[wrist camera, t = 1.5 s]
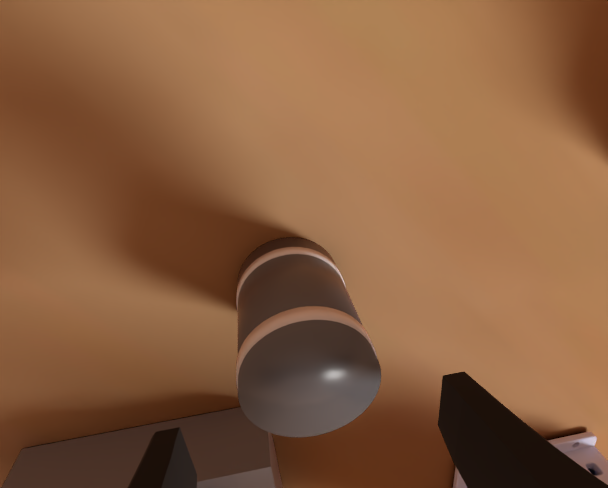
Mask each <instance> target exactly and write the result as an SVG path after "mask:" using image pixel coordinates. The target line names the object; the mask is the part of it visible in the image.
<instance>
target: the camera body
mask: <svg viewBox="0 0 608 488" xmlns="http://www.w3.org/2000/svg"><path fill="white" fill-rule="evenodd" d="M177 427H180V429H181V432H182V435H183V438H184V440H185V443H186V446H187V448H188V451H189V454H190V457H191V459H192V462H193V465H194V468H195V470H196V473H197V488H283V486H282V481H281V476H280V471H279V466H278V461H277V456H276V451H275V446H274V441H273V437H272V433H269V432H267V431H265V430H263V429H261V428H259V427H258V426H256V425H255V424H253V423H252V422H251V421H250V420H249V419H248V418H247V417H246V415H245V414H244V412H243V410H242V409H241V407H239V408H234V409H228V410H223V411H218V412H213V413H208V414H202V415H197V416H192V417H187V418H181V419H176V420H171V421H166V422H160V423H155V424H150V425H145V426H140V427H134V428H129V429H124V430H119V431H113V432H108V433H103V434H98V435H92V436H87V437H82V438H77V439H72V440H66V441H61V442H56V443H51V444H45V445H40V446H35V447H30V448H25V449H22V450H21V452H20V453H19V455H18V457H17V459H16V461H15V463H14V465H13V467H12V469H11V470H10V472H9V474H8V476H7V478H6V480H5V482H4V484H3V485H2V487H1V488H128V486H129V484H130V482H131V480H132V478H133V476H134V474H135V472H136V470H137V468H138V466H139V464H140V461H141V459H142V457H143V455H144V453H145V451H146V449H147V447H148V445H149V442H150V440H151V438H152V436H153V435H154V433H155V432H157V431H162V430H167V429H172V428H177Z"/></svg>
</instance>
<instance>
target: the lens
mask: <svg viewBox="0 0 608 488" xmlns="http://www.w3.org/2000/svg"><path fill="white" fill-rule="evenodd" d="M236 305H237V312H238V357H237V364H236V384H237V390H238V398H239V403H240V406H241V409H242V410H243V412H244V414H245V415H246V417H247V418H248V419H249V420H250V421H251V422H252V423H253V424H255V425H256V426H258V427H259V428H261V429H263V430H265V431H267V432H269V433H272V434H275V435H280V436H286V437H310V436H316V435H321V434H325V433H328V432H331V431H334V430H336V429H338V428H341V427H343V426H344V425H346V424H348V423H350V422H351V421H353V420H354V419H356V418H357V417H358V416H359V415H361V414H362V413H363V412H364V411H365V410H366V409H367V408H368V406H369V405H370V404H371V403H372V401H373V399H374V398H375V396H376V394H377V392H378V389H379V386H380V382H381V369H380V365H379V362H378V359H377V355H376V351H375V349H374V346H373V344H372V342H371V340H370V338H369V335H368V333H367V331H366V330H365V329H364V327H363V326H362V323H361V321H360V319H359V317H358V314H357V312H356V310H355V308H354V305H353V303H352V301H351V299H350V296H349V294H348V292H347V290H346V286H345V283H344V280H343V278H342V275H341V273H340V271H339V269H338V268H337V266H336V265H335V263H334V261H333V259H332V257H331V256H330V254H329V253H328V252H327V251H326V250H325V249H324V248H322V247H321V246H320V245H318V244H316V243H314V242H312V241H310V240H306V239H302V238H291V237H289V238H281V239H276V240H273V241H270V242H268V243H265V244H263V245H262V246H260V247H259V248H257V249H256V250H255V251H253V252H252V253H251V254H250V255H249V256H248V257H247V259H246V260H245V262H244V263H243V265H242V267H241V269H240V272H239V276H238V287H237V297H236Z"/></svg>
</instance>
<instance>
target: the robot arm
mask: <svg viewBox="0 0 608 488" xmlns="http://www.w3.org/2000/svg"><path fill="white" fill-rule="evenodd" d="M438 426H439V429H440V431H441V433H442V436H443V438H444V441H445V443H446V446H447V448H448V450H449V453H450V455H451V457H452V460H453V462H454V464H455V466H456V469H455V476H454V483H453V488H608V461H607V460H606V459H605V457H604V456H603V455H602V454H601V453H600V452H599V451H598V450H597V448H596V447H595V446H594V445H595V443H596V440H597V438H596V436H595V435H594V434H593V433H592V432H585V433H580V434H575V435H571V436H566V437H561V438H557V439H552V440H546V439H544V438H543V437H542V436H541V435H539V434H538V433H537V432H536V431H534V430H533V429H532V428H531V427H529V426H528V425H527V424H526V423H524V422H523V421H522V420H521V419H519V418H518V417H517V416H516V415H515V414H513V413H512V412H511V411H510V410H509V409H507V408H506V407H505V406H504V405H503V404H501V403H500V402H499V401H498V400H497V399H496V398H494V397H493V396H492V395H491V394H490V393H488V392H487V391H486V390H485V389H484V388H483V387H481V386H480V385H479V384H478V383H477V382H476V381H475V380H473V379H472V378H471V377H470V376H469V375H467V374H466V373H465V372H459V373H454V374H449V375H444V376H443V380H442V390H441V400H440V410H439V420H438ZM128 488H197V473H196V470H195V468H194V465H193V462H192V459H191V457H190V454H189V451H188V448H187V446H186V443H185V440H184V438H183V435H182V432H181V429H180V427H177V428H172V429H167V430H162V431H157V432H155V433H154V435H153V436H152V438H151V440H150V442H149V445H148V447H147V449H146V451H145V453H144V455H143V457H142V459H141V461H140V464H139V466H138V468H137V470H136V472H135V474H134V476H133V478H132V480H131V482H130V484H129V486H128Z"/></svg>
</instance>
